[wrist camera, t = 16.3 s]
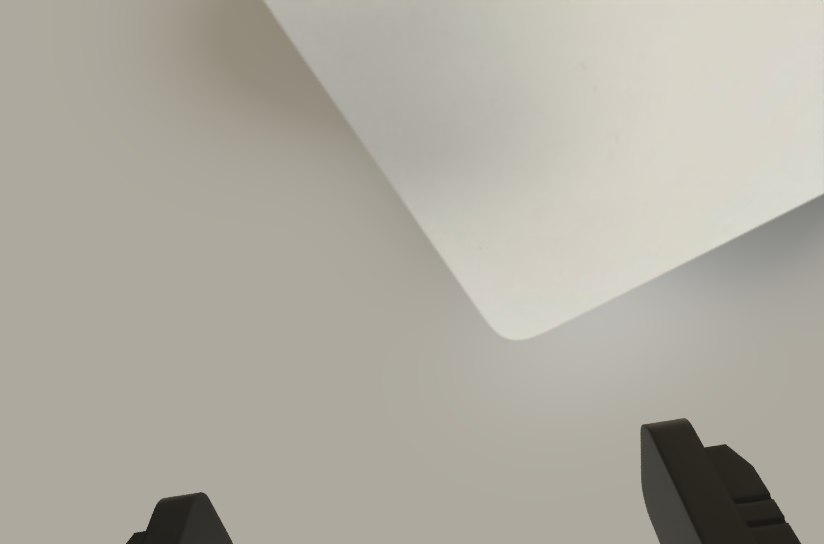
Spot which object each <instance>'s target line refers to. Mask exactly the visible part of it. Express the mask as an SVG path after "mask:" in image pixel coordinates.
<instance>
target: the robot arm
mask: <svg viewBox="0 0 824 544" xmlns="http://www.w3.org/2000/svg"><path fill="white" fill-rule="evenodd" d="M641 483H642V491H643V496H644V500H645V504H646V508H647V511H648V514H649V517H650V520H651V522H652V525H653V527H654V529H655V532H656V534H657V537H658V539H659V542H660V544H801V543H800V542H799V540H798V538H797V536H796V535H795V533H794V531H793V530H792V528H791V527H790V525H789V523H786V522H785V519H784V515H783V514H782V512H781V511H780V509H779V507H778V506H777V504H776V502H775V501H774V499H771V497H770V493H769V491H768V490H767V488H766V486H765V485H764V483H763V482H762V480H761V478H760V477H759V475H758V474H757V472H756V470H755V469H754V467H753V466H752V465H751V464H750V463H748V462H747V461H746V460H745V459H743V458H742V457H741V456H740V455H738V454H737V453H736V452H735V451H733V450H732V449H731V448H730V447H728V446H727V445H726V444H724V445H718V446H711V447H705V448H704V446H703V445H702V443H701V441H700V439H699V437H698V436H697V434H696V432H695V430H694V428H693V427H692V425H691V423H690V422H689V421H688V420H687V419H685V418H683V419H677V420H670V421H663V422H657V423H651V424H644V425H642V427H641ZM126 544H233V543H232V541H231V539H230V537H229V535H228V533H227V531H226V529H225V528H224V526H223V524H222V522H221V520H220V518H219V516H218V515H217V513H216V511H215V509H214V507H213V505H212V503H211V501H210V500H209V498H208V496H207V495H206V494H205V493H202V492H200V493H194V494H187V495H181V496H174V497H168V498H163V499H161V500H160V501H159V502H158V503H157V505H156V507H155V509H154V512H153V514H152V517H151V519H150V522H149V525H148V527H147V530H146V531H143V532H137V533H134V535H133V536H132V537H131V538H130V540H129V541H128V542H127V543H126Z"/></svg>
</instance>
